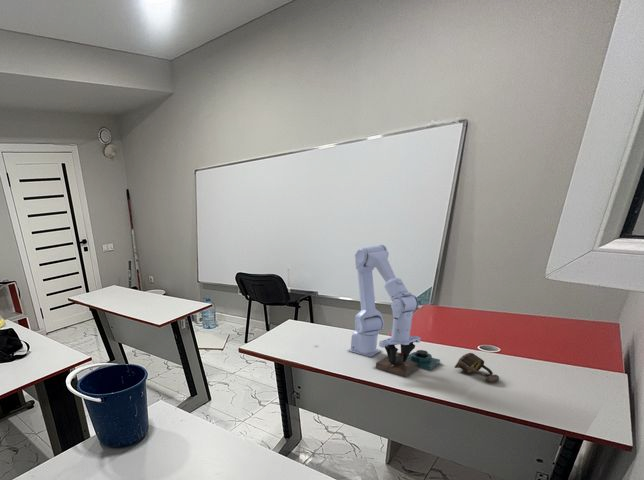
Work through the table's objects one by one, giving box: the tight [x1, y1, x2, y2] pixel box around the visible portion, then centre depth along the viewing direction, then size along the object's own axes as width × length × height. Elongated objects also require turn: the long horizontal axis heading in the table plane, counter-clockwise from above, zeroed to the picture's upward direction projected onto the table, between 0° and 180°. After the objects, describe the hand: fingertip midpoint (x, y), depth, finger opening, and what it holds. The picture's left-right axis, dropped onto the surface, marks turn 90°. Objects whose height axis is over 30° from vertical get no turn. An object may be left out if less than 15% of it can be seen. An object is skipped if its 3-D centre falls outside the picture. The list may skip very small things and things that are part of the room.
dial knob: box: [394, 351, 404, 365], centre depth 135 cm, size 4×4×4 cm
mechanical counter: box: [454, 352, 500, 383], centre depth 125 cm, size 7×13×10 cm
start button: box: [415, 349, 429, 357], centre depth 137 cm, size 4×4×2 cm
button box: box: [407, 351, 441, 371], centre depth 138 cm, size 10×8×4 cm
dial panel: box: [375, 355, 419, 378], centre depth 136 cm, size 11×9×3 cm
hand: (397, 361), depth 136 cm, fingers closed on dial knob, 4 cm apart
